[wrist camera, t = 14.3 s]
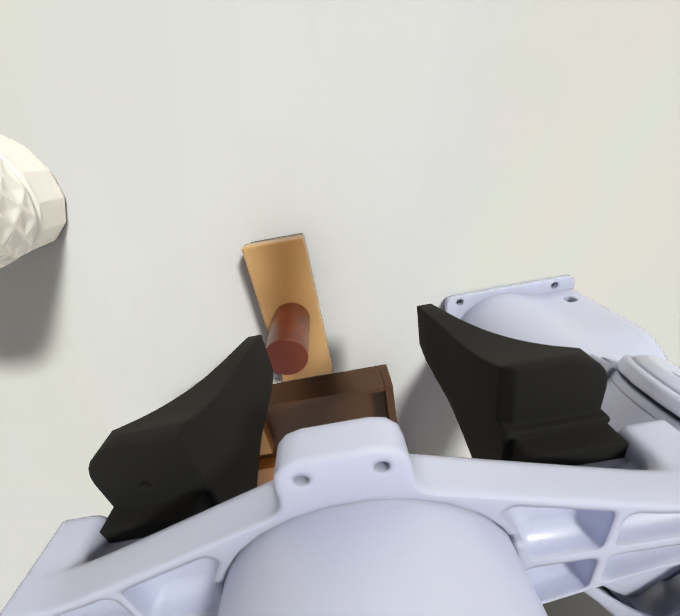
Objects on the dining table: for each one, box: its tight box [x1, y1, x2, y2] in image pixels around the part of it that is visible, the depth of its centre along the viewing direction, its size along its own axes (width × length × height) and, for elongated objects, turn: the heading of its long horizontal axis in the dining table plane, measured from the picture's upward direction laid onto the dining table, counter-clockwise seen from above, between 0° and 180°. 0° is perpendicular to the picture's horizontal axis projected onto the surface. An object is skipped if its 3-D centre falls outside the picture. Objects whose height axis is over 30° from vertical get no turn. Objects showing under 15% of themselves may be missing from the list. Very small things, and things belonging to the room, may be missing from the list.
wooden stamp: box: [242, 233, 333, 382], centre depth 20 cm, size 4×10×7 cm, turn 9°
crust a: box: [260, 419, 274, 455], centre depth 27 cm, size 4×4×1 cm
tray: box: [259, 364, 397, 459], centre depth 29 cm, size 16×14×2 cm
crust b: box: [257, 456, 276, 487], centre depth 30 cm, size 4×4×1 cm
